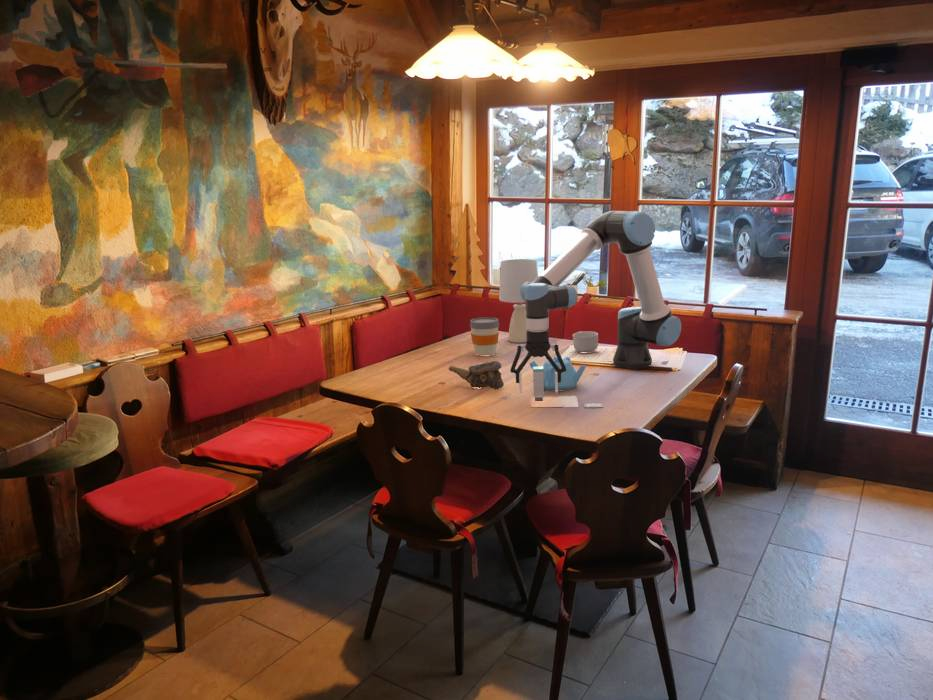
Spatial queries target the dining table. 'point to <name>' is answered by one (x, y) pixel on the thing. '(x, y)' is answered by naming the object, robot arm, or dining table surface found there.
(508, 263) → the lamp
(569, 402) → the paper
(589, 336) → the teacup
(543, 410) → the dining table surface
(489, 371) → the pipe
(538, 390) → the grey rectangular block
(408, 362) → the dining table surface
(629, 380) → the dining table surface
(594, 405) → the word card
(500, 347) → the dining table surface
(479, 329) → the reusable coffee cup
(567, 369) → the teapot
